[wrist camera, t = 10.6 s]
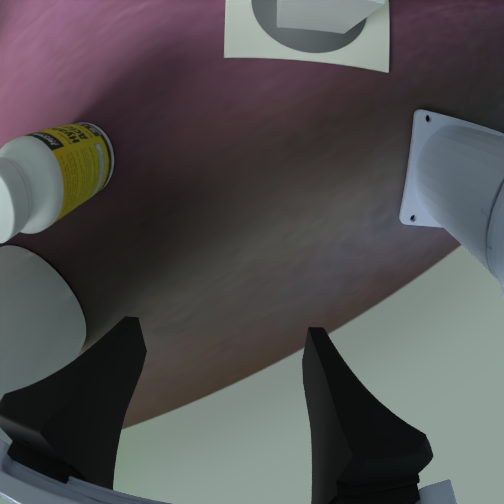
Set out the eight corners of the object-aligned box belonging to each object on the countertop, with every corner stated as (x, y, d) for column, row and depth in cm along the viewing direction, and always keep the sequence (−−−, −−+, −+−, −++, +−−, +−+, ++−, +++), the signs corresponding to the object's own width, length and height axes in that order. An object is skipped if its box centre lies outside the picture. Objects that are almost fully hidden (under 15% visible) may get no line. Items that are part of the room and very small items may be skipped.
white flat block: (385, -32, 12) (387, -33, 12) (386, 72, 16) (389, 72, 16) (228, -49, 12) (228, -51, 12) (224, 58, 16) (223, 57, 16)
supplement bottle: (117, 119, 18) (19, 147, 9) (117, 196, 20) (35, 266, 12) (54, 122, 18) (-47, 153, 9) (57, 192, 20) (-30, 252, 12)
